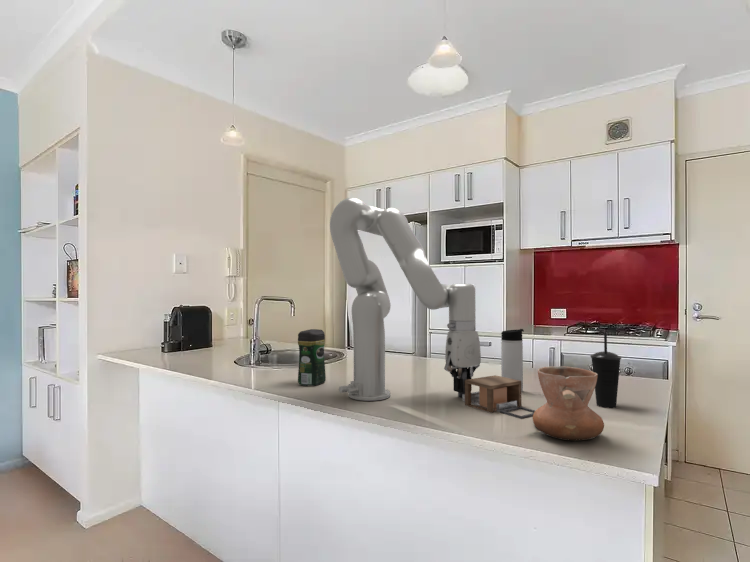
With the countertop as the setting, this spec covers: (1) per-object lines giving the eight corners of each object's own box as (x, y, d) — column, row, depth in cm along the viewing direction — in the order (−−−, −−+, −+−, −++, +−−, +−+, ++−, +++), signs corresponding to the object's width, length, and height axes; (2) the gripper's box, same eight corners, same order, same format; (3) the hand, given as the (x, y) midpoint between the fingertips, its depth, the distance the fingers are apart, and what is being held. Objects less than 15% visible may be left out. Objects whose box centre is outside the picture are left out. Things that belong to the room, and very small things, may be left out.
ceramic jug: (608, 452, 89) (608, 380, 89) (531, 443, 94) (530, 375, 94) (599, 426, 105) (598, 365, 106) (534, 420, 111) (533, 362, 111)
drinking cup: (619, 403, 126) (618, 332, 127) (624, 410, 119) (623, 334, 120) (589, 401, 129) (588, 331, 129) (592, 407, 122) (592, 333, 122)
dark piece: (521, 424, 107) (521, 417, 107) (499, 418, 112) (499, 410, 112) (541, 419, 111) (541, 412, 111) (520, 413, 116) (520, 406, 116)
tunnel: (490, 418, 112) (490, 386, 112) (465, 410, 120) (464, 379, 120) (521, 411, 118) (521, 380, 119) (495, 403, 126) (495, 375, 126)
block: (493, 408, 116) (493, 389, 116) (479, 404, 120) (479, 385, 120) (507, 406, 118) (506, 387, 118) (492, 402, 123) (492, 383, 123)
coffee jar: (310, 380, 159) (310, 327, 160) (329, 382, 156) (329, 328, 156) (293, 385, 151) (293, 330, 151) (313, 387, 147) (313, 331, 148)
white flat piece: (498, 416, 113) (498, 376, 113) (450, 401, 128) (450, 366, 128) (517, 412, 117) (516, 373, 117) (467, 398, 132) (467, 364, 132)
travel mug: (525, 397, 134) (524, 330, 134) (502, 396, 135) (501, 329, 135) (522, 392, 140) (522, 328, 140) (500, 391, 141) (500, 327, 141)
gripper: (449, 329, 122) (450, 397, 121) (491, 326, 130) (492, 389, 130) (432, 327, 128) (432, 392, 128) (473, 324, 137) (473, 385, 136)
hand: (462, 390), depth 129 cm, fingers closed on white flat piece, 2 cm apart
